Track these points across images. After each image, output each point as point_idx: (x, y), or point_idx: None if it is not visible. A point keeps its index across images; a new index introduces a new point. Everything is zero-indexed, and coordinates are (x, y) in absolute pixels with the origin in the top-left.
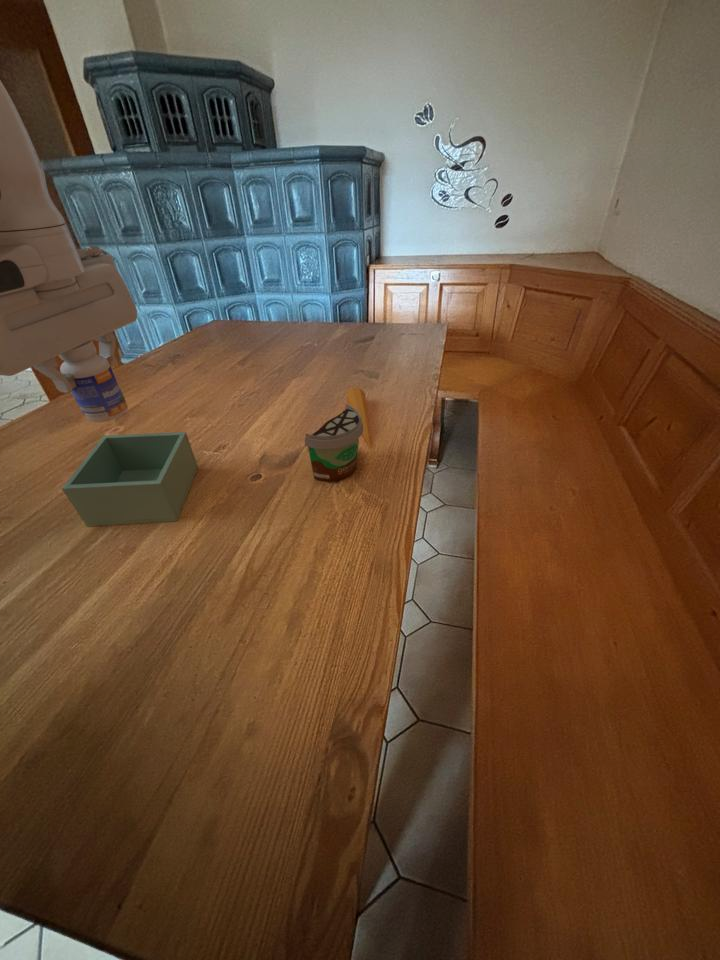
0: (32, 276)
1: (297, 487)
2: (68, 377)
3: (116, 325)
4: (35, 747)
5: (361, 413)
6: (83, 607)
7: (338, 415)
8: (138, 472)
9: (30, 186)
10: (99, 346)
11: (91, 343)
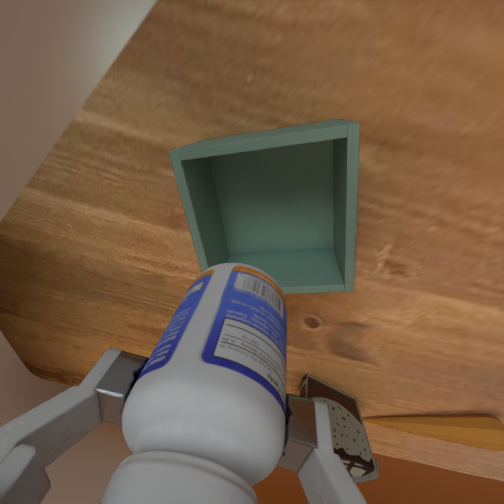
0: None
1: (291, 360)
2: (107, 421)
3: None
4: (10, 239)
5: (429, 434)
6: (99, 211)
7: (358, 462)
8: (325, 164)
9: None
10: (334, 490)
11: None
